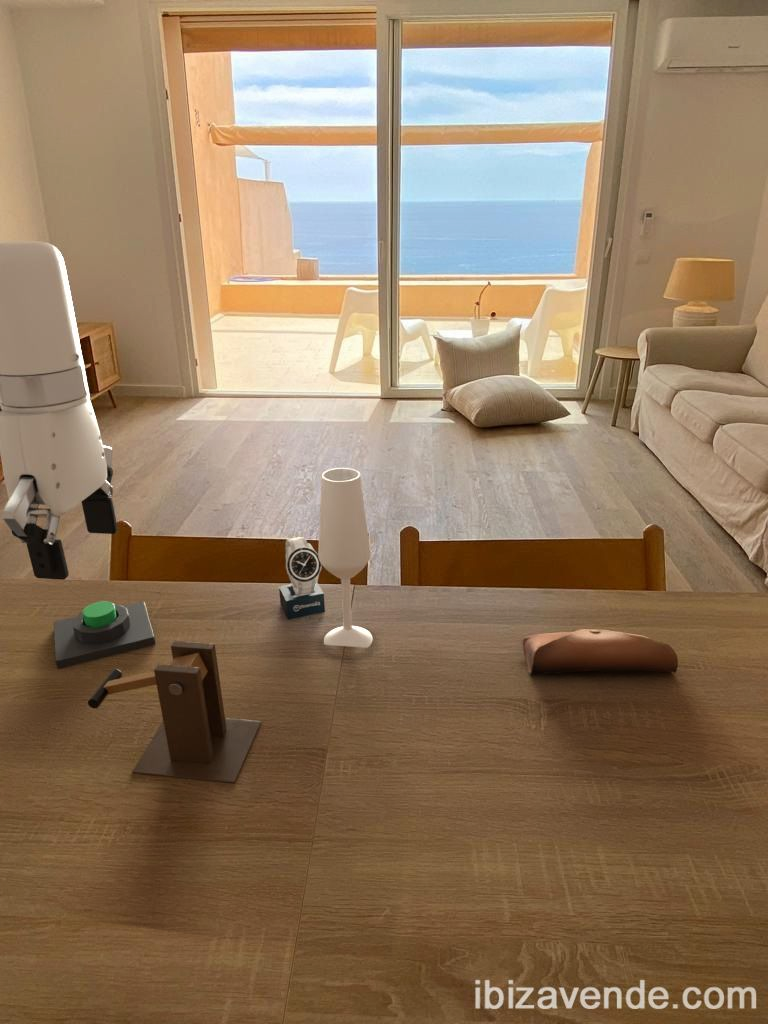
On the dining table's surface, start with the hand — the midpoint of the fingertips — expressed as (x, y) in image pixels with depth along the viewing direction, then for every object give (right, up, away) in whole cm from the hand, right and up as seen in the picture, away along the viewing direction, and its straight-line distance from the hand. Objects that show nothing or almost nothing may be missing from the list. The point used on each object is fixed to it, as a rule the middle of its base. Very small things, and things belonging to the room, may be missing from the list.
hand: (79, 553), depth 70 cm
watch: (+19, -10, +31) cm, 38 cm away
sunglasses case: (+58, -15, +19) cm, 63 cm away
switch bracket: (+11, -22, +5) cm, 25 cm away
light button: (-7, -10, +23) cm, 26 cm away
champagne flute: (+26, -13, +24) cm, 38 cm away
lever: (+7, -14, +2) cm, 16 cm away
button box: (-7, -14, +24) cm, 29 cm away
